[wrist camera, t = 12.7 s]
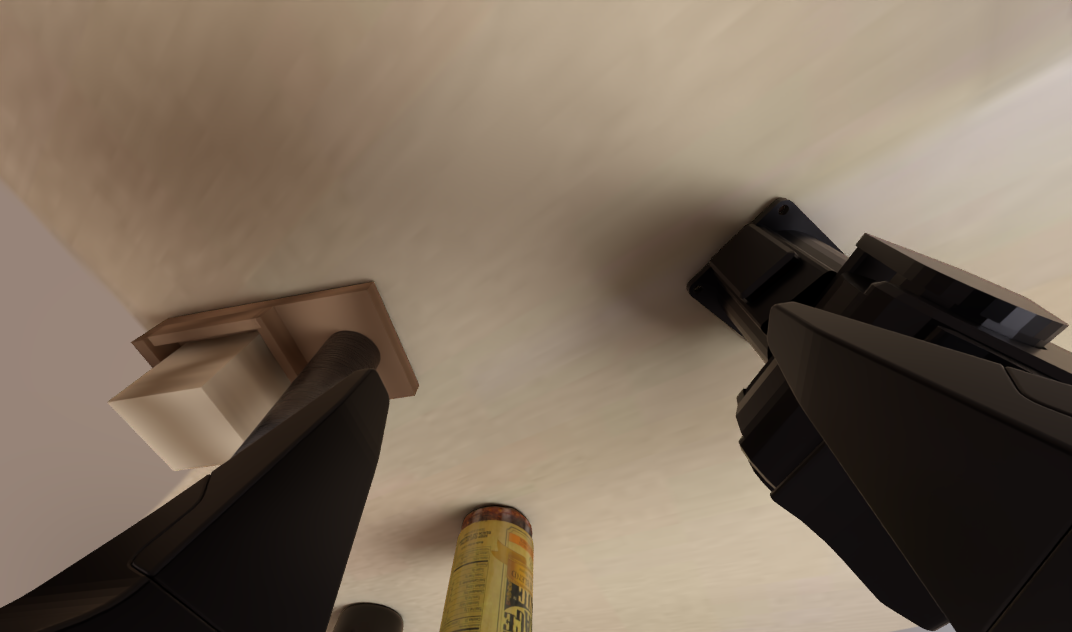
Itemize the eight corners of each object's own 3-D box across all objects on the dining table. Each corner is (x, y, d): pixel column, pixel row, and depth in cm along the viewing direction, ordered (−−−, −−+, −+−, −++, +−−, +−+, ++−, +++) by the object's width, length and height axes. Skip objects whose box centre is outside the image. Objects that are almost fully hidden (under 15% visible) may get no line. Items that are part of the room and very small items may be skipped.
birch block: (264, 329, 23) (200, 387, 19) (305, 395, 25) (258, 459, 21) (186, 343, 23) (106, 402, 19) (234, 406, 26) (173, 471, 22)
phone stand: (373, 281, 23) (233, 453, 12) (419, 385, 26) (341, 583, 16) (167, 318, 24) (-117, 502, 13) (239, 411, 28) (59, 611, 17)
